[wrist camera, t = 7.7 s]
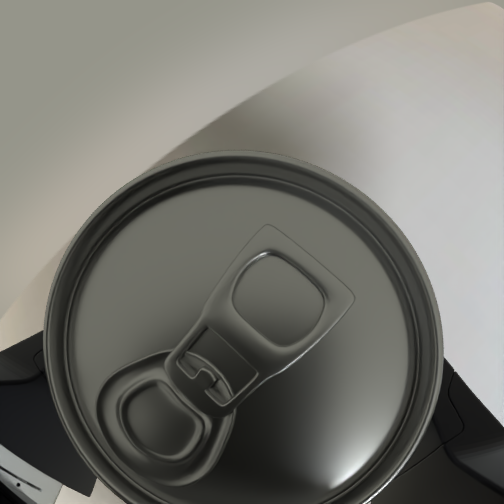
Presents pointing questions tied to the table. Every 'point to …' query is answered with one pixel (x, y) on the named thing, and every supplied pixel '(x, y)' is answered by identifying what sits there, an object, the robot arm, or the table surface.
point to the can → (243, 337)
